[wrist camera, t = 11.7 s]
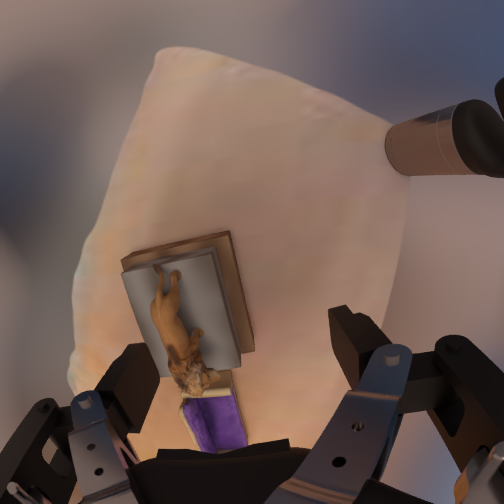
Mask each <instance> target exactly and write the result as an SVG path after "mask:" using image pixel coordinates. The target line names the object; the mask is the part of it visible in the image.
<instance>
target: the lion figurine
mask: <svg viewBox="0 0 504 504" xmlns="http://www.w3.org/2000/svg"><path fill="white" fill-rule="evenodd" d="M152 266H153V268H154V270H155V272H156V273H157V274H158V275H159V277H160V279H159V284H158V288H157V293H156V297H155V298H154V300H153V301H152V302H151V304H150V314H151V318H152V321H153V323H154V325H155V326H156V328H157V330H158V333H159V335H160V338H161V341H162V343H163V345H164V348H165V350H166V352H167V355H168V368H169V371H170V372H171V374H172V376H173V378H174V380H175V382H176V383H177V384H179V385H178V386H179V388H181V389H182V390H183V392H184V393H186V394H189V395H191V396H197V397H199V396H200V397H201V398H203V397H202V395H203V393H204V391H205V388H208V387H209V385H210V383H212V382H214V381H217V380H219V379H220V375H219V374H218V372H217V370H215V369H214V368H206V363H204V361H203V360H202V355H201V353H200V351H199V349H198V347H199V338H201V337H202V336H203V333H204V331H203V330H201V329H198V328H197V329H193V331H192V335H191V336H190V337H188V334H187V332H186V330H185V327H184V325H183V323H182V322H181V320H180V319H179V317H177V314H176V313H177V311H178V308H179V304H180V292H179V287H178V283H177V281H179V280H180V278H181V273H180V272H179V271H177V270H175V271H172V272H171V274H170V282H171V289H170V292H169V293H167V295H166V296H164V295H163V294H162V290H163V285H164V275H163V273H162V272H161V270H160V267H159V266H158V265H157V264H155V263H154V264H153V265H152Z"/></svg>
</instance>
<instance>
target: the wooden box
mask: <svg viewBox="0 0 504 504" xmlns="http://www.w3.org/2000/svg"><path fill="white" fill-rule="evenodd" d="M121 263H122V267H123V270H124V272H122V273H121V276H122V279H123V282H124V286H125V289H126V292H127V295H128V298H129V301H130V304H131V307H132V309H133V312H134V315H135V318H136V321H137V323H138V326H139V329H140V331H141V334H142V336H143V339H144V341H145V343H146V344H147V346H148V348H149V350H150V353H151V355H152V357H153V360H154V362H155V364H156V366H157V369H158V371H159V375H160V377H171V376H172V374H171V372H170V371H169V368H168V355H167V352H166V350H165V348H164V345H163V343H162V341H161V338H160V335H159V333H158V330H157V328H156V326H155V325H154V323H153V321H152V318H151V314H150V304H151V302H152V301H153V300H154V298H155V297H156V293H157V288H158V284H159V279H160V277H159V275H158V274H157V273H156V272H155V270H154V268H153V266H152V265H153V264H154V263H155V264H157V265H158V266H159V267H160V270H161V272H162V273H163V275H164V285H163V290H162V294H163V295H164V296H166V295H167V293H169V292H170V289H171V282H170V274H171V272H172V271H175V270H177V271H179V272H180V273H181V278H180V280H179V281H177V283H178V287H179V292H180V304H179V308H178V311H177V313H176V314H177V317H179V319H180V320H181V322H182V323H183V325H184V327H185V330H186V332H187V334H188V337H190V336H191V335H192V331H193V329H197V328H198V329H201V330H203V331H204V333H203V336H202V337H201V338H199V347H198V349H199V351H200V353H201V355H202V360H203V361H204V363H206V368H214V369H215V370H217V371H219V370H226V369H232V368H238V367H241V354H243V353H248V352H254V351H255V344H254V335H253V331H252V327H251V322H250V318H249V314H248V310H247V305H246V301H245V297H244V292H243V288H242V284H241V279H240V275H239V271H238V266H237V262H236V257H235V253H234V248H233V244H232V239H231V235H230V230H229V231H224V232H220V233H215V234H210V235H206V236H201V237H197V238H192V239H188V240H184V241H179V242H175V243H170V244H166V245H162V246H157V247H153V248H149V249H145V250H141V251H136V252H132V253H131V254H129V255H127V256H126V257H124V258H123V259H121Z"/></svg>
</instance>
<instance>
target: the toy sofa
mask: <svg viewBox="0 0 504 504" xmlns="http://www.w3.org/2000/svg"><path fill="white" fill-rule="evenodd" d="M217 372H218V374H219V375H220V379H219V380H217V381H214V382H212V383H210V385H209V387H208V388H205V391H204V393H203V395H202V397H203V398H201V397H200V396H199V397H197V396H191V395H189V394H186V393H184V392H183V390H182V392H181V395H182V398H183V402H182V403H181V405H180V409H179V414H180V417H181V418H182V420H183V421H184V423H185V425H186V427H187V429H188V431H189V433H190V435H191V437H192V439H193V441H194V444H195V446H196V448H197V450H198V451H202V452H208V453H215V454H221V453H225V452H229V451H232V450H236V449H239V448H243V447H246V446H248V435H247V434H246V432H245V429H244V425H243V421H242V418H241V414H240V410H239V406H238V402H237V398H236V395H235V390H234V386H233V382H232V372H231V370H225V371H217Z"/></svg>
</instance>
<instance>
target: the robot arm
mask: <svg viewBox="0 0 504 504" xmlns="http://www.w3.org/2000/svg"><path fill="white" fill-rule="evenodd" d="M495 97H496V100H497V104H498V106H499V109H500V112H501V115H502V117H503V119H504V77H503V78H502V79H501V80H499V81H498V83H497V84H496V86H495ZM385 147H386V153H387V157H388V159H389V161H390V163H391V164H392V166H393V167H394V168H395V169H396V170H397V171H398V172H400V173H401V174H404V175H408V176H415V175H416V176H417V175H467V174H468V175H471V174H472V175H487V176H489V177H495V178H504V121H503V120H502V119H501V117H500V116H499V114H498V113H497V112H496V111H495V110H494V109H493V108H492V107H491V106H490V105H489V104H487V103H485V102H484V101H481V100H476V99H475V100H468V101H465V102H462V103H459V104H456V105H452V106H449V107H447V108H444V109H441V110H437V111H434V112H432V113H428V114H425V115H423V116H420V117H417V118H414V119H411V120H408V121H405V122H403V123H400V124H397V125H395V126H393V127H392V128H391V129H390V130H389V132H388V134H387V137H386V142H385ZM328 317H329V325H330V335H331V343H332V348H333V351H334V354H335V356H336V358H337V360H338V362H339V364H340V366H341V368H342V370H343V372H344V374H345V376H346V379H347V381H348V383H349V385H350V387H351V389H352V390H348V391H347V392H346V394H345V395H344V397H343V399H342V401H341V402H340V404H339V406H338V408H337V409H336V411H335V413H334V415H333V416H332V418H331V420H330V421H329V423H328V425H327V426H326V428H325V429H324V431H323V433H322V434H321V436H320V437H319V439H318V440H317V442H316V443H315V445H314V446H313V448H312V449H307V448H299V447H290V443H289V439H282V440H276V441H270V442H264V443H257V444H252V445H249V446H246V447H243V448H239V449H236V450H232V451H229V452H225V453H221V454H215V453H208V452H202V451H196V450H190V449H158V453H157V456H156V458H152V459H148V460H145V461H142V462H141V461H140V459H139V457H138V455H137V454H136V452H135V450H134V448H133V446H132V444H131V442H130V440H129V439H128V437H127V434H128V433H140V431H141V428H142V426H143V423H144V421H145V418H146V415H147V413H148V410H149V408H150V405H151V403H152V400H153V398H154V395H155V393H156V390H157V388H158V386H159V383H160V375H159V371H158V369H157V366H156V364H155V362H154V360H153V357H152V355H151V353H150V350H149V348H148V346H147V344H146V343H135V344H129V345H128V346H127V347H126V349H125V350H124V352H123V353H122V355H121V356H119V357H118V358H117V359H116V360H115V361H113V363H112V364H111V366H110V367H109V369H108V370H107V371H106V373H105V375H104V376H103V377H102V379H101V380H100V382H99V383H98V385H97V386H96V388H95V389H94V391H93V390H89V391H84V392H82V393H80V394H78V395H77V396H75V397H74V398H73V400H72V401H71V404H70V406H66V407H59V406H58V404H57V403H56V401H55V400H54V399H52V398H46V399H42V400H40V401H38V402H37V403H36V404H35V405H34V406H33V407H32V409H31V410H30V411H29V412H28V414H27V415H26V417H25V418H24V419H23V421H22V422H21V424H20V425H19V426H18V428H17V429H16V431H15V432H14V434H13V435H12V436H11V438H10V439H9V441H8V442H7V444H6V446H5V447H4V448H3V450H2V452H1V453H0V504H68V502H69V500H70V497H71V495H72V492H73V490H74V487H75V485H76V482H77V480H78V483H79V486H80V490H81V493H82V497H83V499H82V500H81V502H80V503H78V504H433V503H431V502H428V501H425V500H422V499H420V498H417V497H415V496H412V495H409V494H407V493H405V492H402V491H400V490H398V489H395V488H393V487H391V486H388V485H386V484H384V483H382V482H380V480H381V477H382V475H383V473H384V470H385V468H386V465H387V462H388V459H389V456H390V453H391V450H392V448H393V445H394V442H395V439H396V437H397V434H398V431H399V428H400V425H401V422H402V419H403V416H404V414H405V413H412V412H418V411H425V410H426V411H427V413H428V415H429V416H430V418H431V420H432V421H433V423H434V425H435V426H436V428H437V430H438V432H439V434H440V435H441V437H442V439H443V440H444V442H445V444H446V446H447V448H448V450H449V451H450V453H451V455H452V457H453V459H454V460H455V462H456V464H457V466H458V468H459V470H460V472H461V475H460V476H459V478H458V479H457V481H456V483H455V485H454V496H455V504H504V373H503V372H502V371H501V370H500V369H499V368H498V367H497V366H496V365H495V364H494V363H493V362H492V361H491V360H490V359H489V358H488V357H487V356H486V355H485V354H484V353H483V352H482V351H481V350H480V349H478V348H477V347H476V346H475V345H474V344H473V343H472V342H471V341H470V340H469V339H467V338H466V337H464V336H460V335H448V336H444V337H442V338H440V339H439V340H438V341H437V342H436V344H435V349H434V351H430V352H424V353H417V354H412V351H411V350H410V349H409V348H408V347H406V346H404V345H401V344H393V343H392V342H391V341H390V340H389V339H388V338H387V336H386V335H385V334H384V333H383V332H382V331H381V329H379V327H378V326H377V325H376V324H375V323H374V322H373V320H372V319H371V318H370V317H369V316H367V315H365V314H362V313H356V314H353V313H352V312H351V310H350V309H349V308H348V307H347V305H342V306H338V307H334V308H330V309H328ZM48 438H50V439H51V441H52V442H53V443H54V444H55V445H56V447H57V448H58V449H57V450H56V453H55V455H54V456H53V458H52V460H51V462H50V464H48V463H47V462H46V461H45V460H44V458H43V456H42V449H43V447H44V445H45V443H46V441H47V440H48Z"/></svg>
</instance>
